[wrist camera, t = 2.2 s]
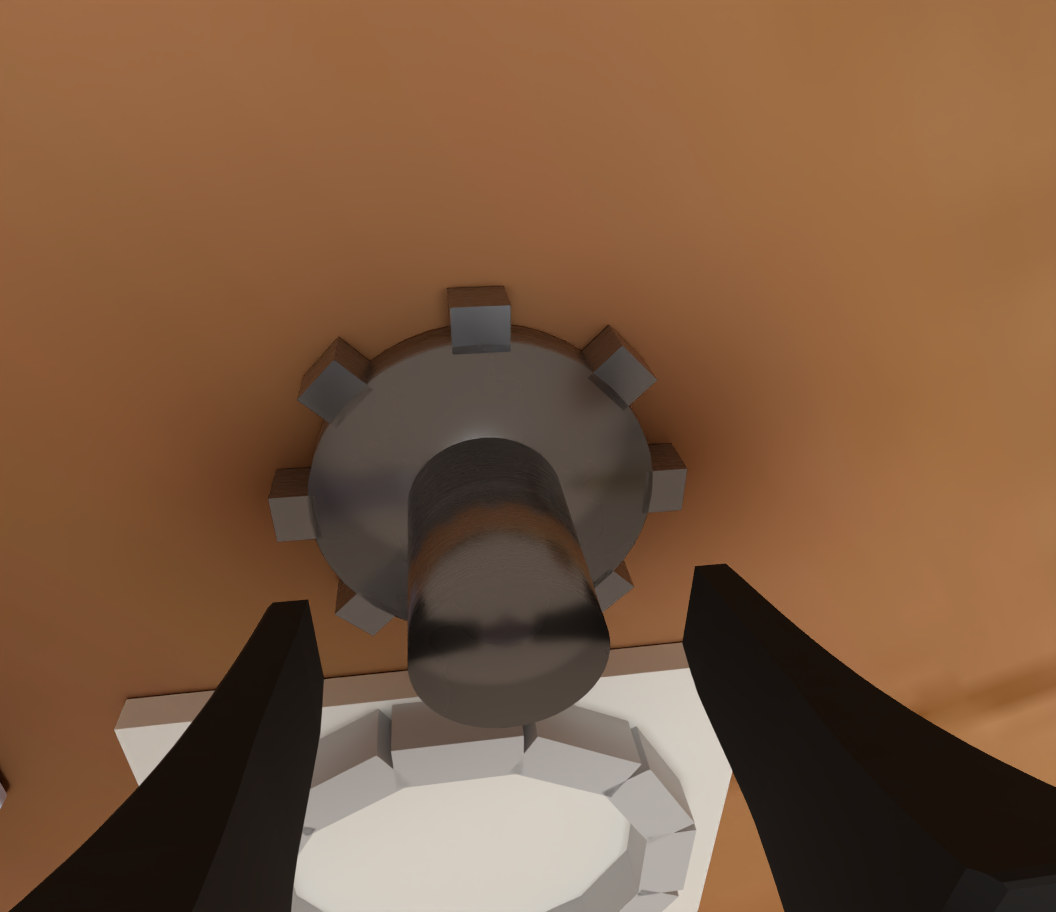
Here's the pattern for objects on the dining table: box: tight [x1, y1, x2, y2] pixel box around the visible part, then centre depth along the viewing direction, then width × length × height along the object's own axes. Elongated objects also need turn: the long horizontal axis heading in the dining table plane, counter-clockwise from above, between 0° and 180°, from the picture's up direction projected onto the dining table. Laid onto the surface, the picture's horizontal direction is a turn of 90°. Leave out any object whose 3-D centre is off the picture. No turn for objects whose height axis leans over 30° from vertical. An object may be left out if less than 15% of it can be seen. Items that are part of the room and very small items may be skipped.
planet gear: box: [268, 286, 687, 728], centre depth 15 cm, size 10×10×6 cm
